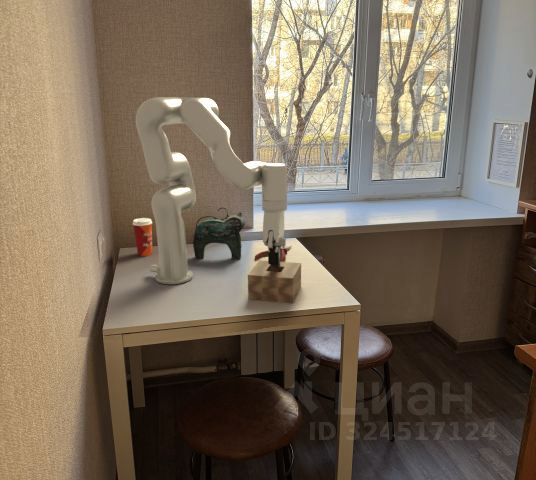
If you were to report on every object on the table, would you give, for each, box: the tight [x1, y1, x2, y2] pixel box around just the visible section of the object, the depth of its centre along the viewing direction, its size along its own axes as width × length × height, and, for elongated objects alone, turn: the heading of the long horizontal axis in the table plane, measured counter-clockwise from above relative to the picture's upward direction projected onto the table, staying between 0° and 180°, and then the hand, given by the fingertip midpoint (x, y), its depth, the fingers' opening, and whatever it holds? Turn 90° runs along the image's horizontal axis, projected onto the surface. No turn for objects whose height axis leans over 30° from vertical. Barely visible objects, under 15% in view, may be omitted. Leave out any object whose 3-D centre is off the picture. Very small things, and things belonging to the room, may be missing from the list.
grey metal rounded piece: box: [263, 236, 287, 267], centre depth 153 cm, size 7×7×9 cm
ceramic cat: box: [192, 207, 246, 260], centre depth 187 cm, size 20×6×20 cm, turn 84°
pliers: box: [254, 245, 293, 262], centre depth 193 cm, size 11×20×3 cm, turn 154°
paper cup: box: [132, 217, 153, 257], centre depth 194 cm, size 8×8×14 cm
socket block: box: [247, 259, 302, 304], centre depth 155 cm, size 14×14×8 cm
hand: (274, 261), depth 154 cm, fingers closed on grey metal rounded piece, 3 cm apart
